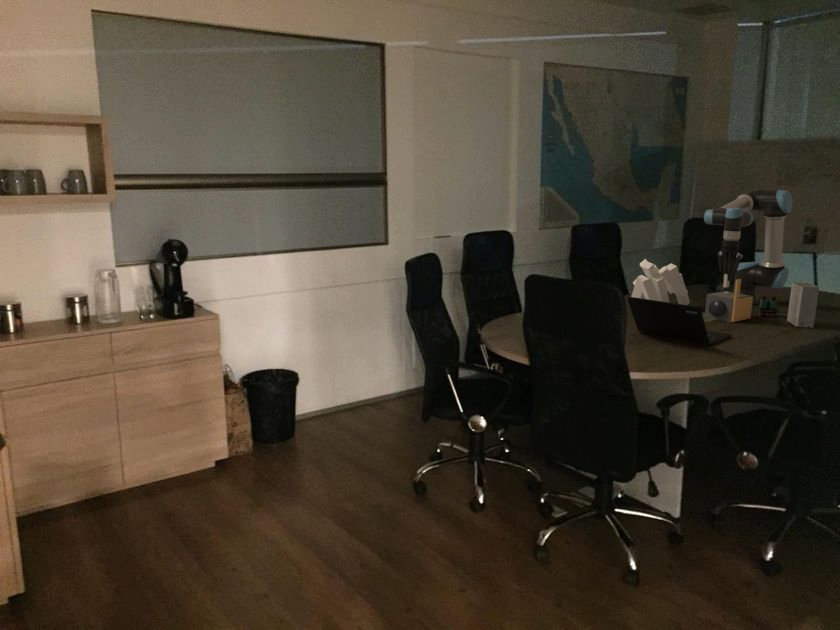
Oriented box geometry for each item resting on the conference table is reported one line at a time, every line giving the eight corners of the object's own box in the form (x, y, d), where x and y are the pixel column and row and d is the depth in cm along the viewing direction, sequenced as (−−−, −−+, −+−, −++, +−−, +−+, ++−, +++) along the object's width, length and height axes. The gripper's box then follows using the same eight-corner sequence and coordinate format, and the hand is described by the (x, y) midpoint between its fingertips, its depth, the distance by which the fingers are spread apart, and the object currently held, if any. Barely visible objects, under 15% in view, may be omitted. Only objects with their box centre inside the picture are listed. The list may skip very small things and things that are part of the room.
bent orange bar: (748, 317, 339) (753, 277, 334) (750, 318, 338) (755, 277, 334) (731, 321, 330) (735, 279, 325) (733, 322, 329) (737, 280, 325)
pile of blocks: (654, 310, 384) (629, 256, 379) (705, 297, 363) (679, 239, 358) (633, 337, 360) (606, 280, 354) (686, 325, 339) (658, 264, 334)
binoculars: (762, 299, 339) (759, 294, 348) (760, 319, 342) (756, 313, 351) (782, 300, 336) (777, 295, 346) (779, 320, 340) (775, 314, 349)
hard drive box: (814, 328, 320) (819, 287, 316) (796, 327, 322) (802, 286, 317) (802, 321, 335) (808, 282, 331) (786, 320, 336) (791, 281, 332)
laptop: (732, 338, 300) (737, 296, 296) (695, 353, 275) (700, 307, 271) (662, 325, 324) (666, 286, 320) (622, 338, 298) (626, 295, 294)
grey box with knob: (721, 313, 351) (724, 290, 348) (747, 318, 339) (750, 294, 337) (702, 317, 340) (704, 293, 338) (728, 323, 329) (730, 297, 326)
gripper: (714, 238, 330) (709, 285, 335) (739, 241, 319) (734, 289, 324) (723, 238, 334) (718, 284, 339) (748, 240, 323) (742, 288, 329)
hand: (726, 286), depth 332 cm, fingers closed
